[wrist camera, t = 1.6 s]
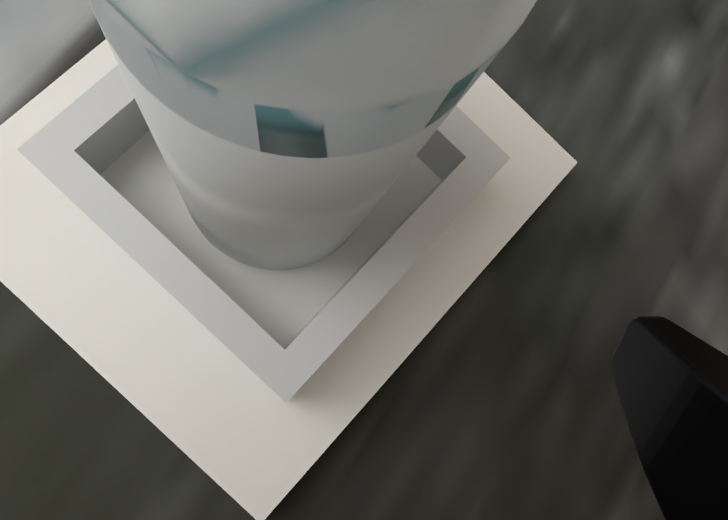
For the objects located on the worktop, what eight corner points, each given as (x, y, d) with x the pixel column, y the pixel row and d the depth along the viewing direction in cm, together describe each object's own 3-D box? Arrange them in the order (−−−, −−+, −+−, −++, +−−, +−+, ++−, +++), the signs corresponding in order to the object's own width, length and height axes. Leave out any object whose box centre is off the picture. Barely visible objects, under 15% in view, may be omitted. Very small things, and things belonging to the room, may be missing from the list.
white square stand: (260, 515, 19) (261, 550, 16) (-71, 206, 19) (-143, 173, 15) (563, 170, 23) (617, 138, 19) (291, -94, 22) (297, -174, 19)
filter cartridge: (280, 309, 19) (328, 224, 6) (141, 177, 19) (-93, -177, 6) (405, 179, 20) (648, -101, 8) (275, 55, 20) (307, -437, 8)
